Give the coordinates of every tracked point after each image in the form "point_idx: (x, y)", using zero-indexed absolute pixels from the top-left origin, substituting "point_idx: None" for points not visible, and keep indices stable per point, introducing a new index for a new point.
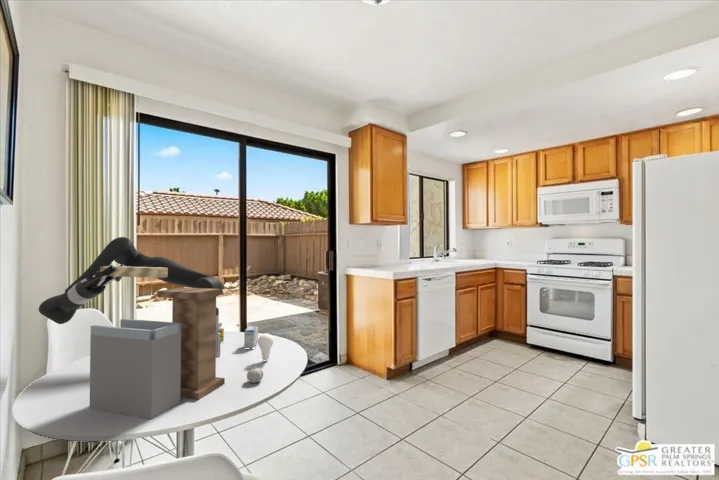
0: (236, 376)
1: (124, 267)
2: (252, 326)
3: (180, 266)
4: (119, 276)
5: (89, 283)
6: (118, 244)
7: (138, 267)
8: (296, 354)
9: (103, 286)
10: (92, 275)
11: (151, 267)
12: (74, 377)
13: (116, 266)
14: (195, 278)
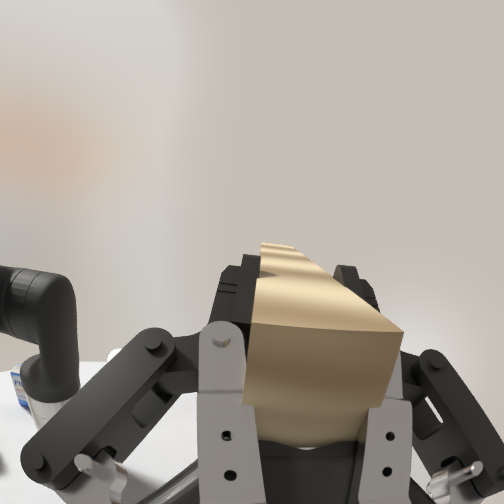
0: (189, 409)
1: (315, 264)
2: (15, 368)
3: None
4: (178, 397)
5: (428, 490)
6: None
7: (294, 253)
8: (100, 364)
9: None
10: (446, 416)
11: (273, 247)
12: None
13: (285, 280)
14: None
